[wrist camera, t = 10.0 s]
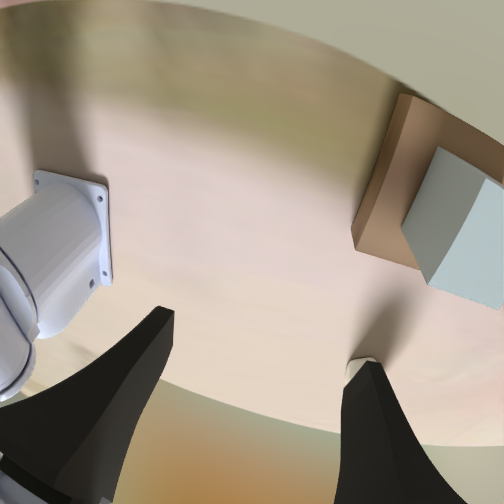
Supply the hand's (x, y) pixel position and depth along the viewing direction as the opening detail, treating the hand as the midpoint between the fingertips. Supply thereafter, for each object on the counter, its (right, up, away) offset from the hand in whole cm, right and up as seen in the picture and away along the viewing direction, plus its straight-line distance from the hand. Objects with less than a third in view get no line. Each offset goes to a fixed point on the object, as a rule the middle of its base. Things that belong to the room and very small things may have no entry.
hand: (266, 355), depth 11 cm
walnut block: (+11, +8, +6) cm, 15 cm away
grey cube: (+10, +6, +3) cm, 13 cm away
